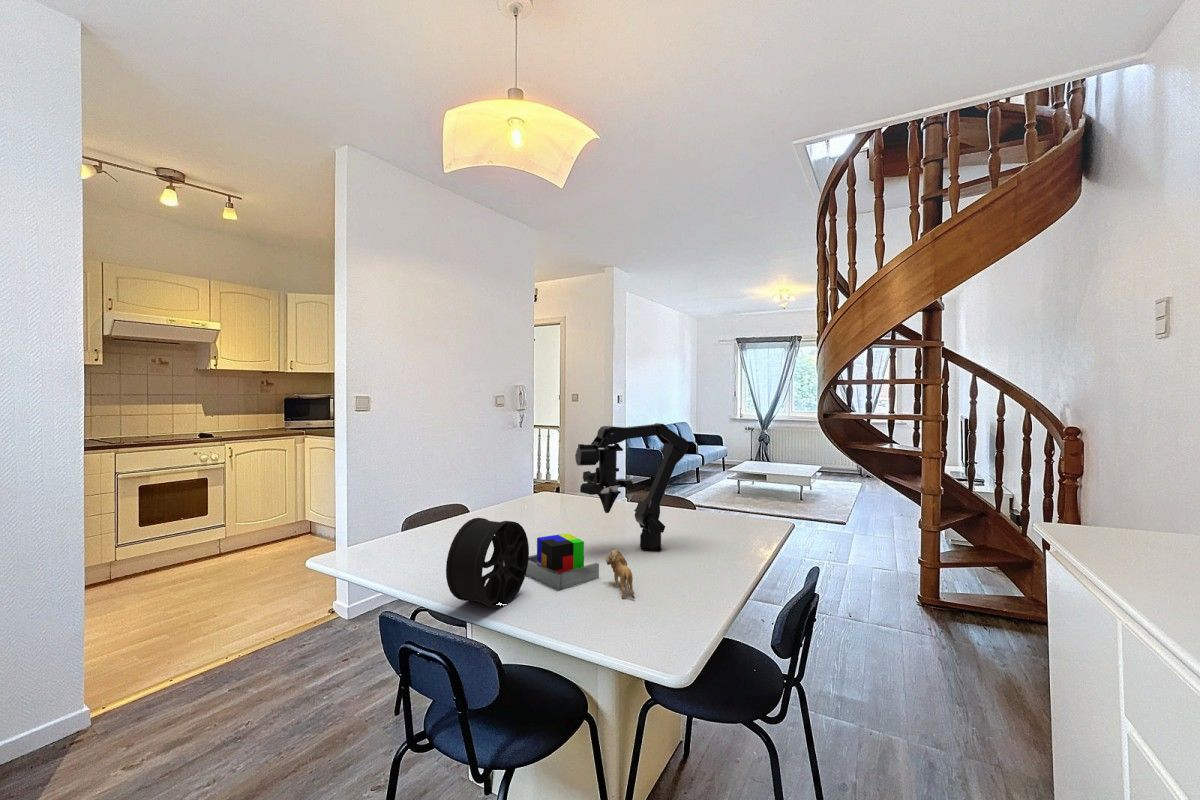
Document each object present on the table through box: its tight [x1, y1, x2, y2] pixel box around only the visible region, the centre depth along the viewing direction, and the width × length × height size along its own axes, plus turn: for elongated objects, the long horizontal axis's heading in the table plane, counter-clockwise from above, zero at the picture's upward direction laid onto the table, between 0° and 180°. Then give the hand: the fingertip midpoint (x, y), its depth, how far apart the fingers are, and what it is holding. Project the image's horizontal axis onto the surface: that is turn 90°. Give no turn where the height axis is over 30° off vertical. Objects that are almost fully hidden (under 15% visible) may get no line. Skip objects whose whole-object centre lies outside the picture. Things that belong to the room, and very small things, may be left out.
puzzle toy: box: [536, 532, 585, 573], centre depth 143 cm, size 10×10×10 cm
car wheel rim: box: [445, 517, 530, 609], centre depth 124 cm, size 20×10×20 cm, turn 156°
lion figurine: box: [604, 549, 636, 599], centre depth 132 cm, size 15×5×9 cm, turn 22°
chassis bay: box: [525, 553, 600, 591], centre depth 143 cm, size 14×18×4 cm
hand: (606, 512), depth 163 cm, fingers closed
